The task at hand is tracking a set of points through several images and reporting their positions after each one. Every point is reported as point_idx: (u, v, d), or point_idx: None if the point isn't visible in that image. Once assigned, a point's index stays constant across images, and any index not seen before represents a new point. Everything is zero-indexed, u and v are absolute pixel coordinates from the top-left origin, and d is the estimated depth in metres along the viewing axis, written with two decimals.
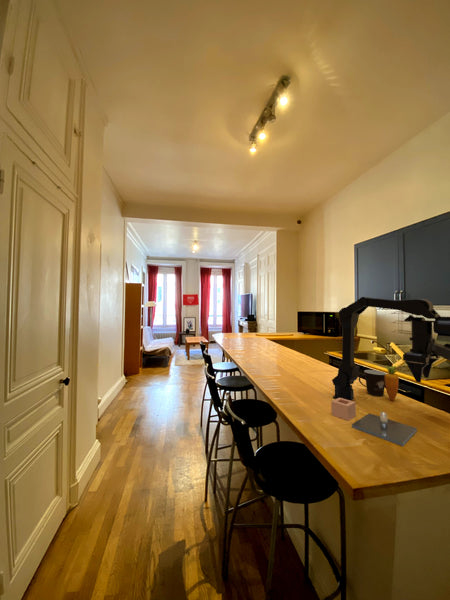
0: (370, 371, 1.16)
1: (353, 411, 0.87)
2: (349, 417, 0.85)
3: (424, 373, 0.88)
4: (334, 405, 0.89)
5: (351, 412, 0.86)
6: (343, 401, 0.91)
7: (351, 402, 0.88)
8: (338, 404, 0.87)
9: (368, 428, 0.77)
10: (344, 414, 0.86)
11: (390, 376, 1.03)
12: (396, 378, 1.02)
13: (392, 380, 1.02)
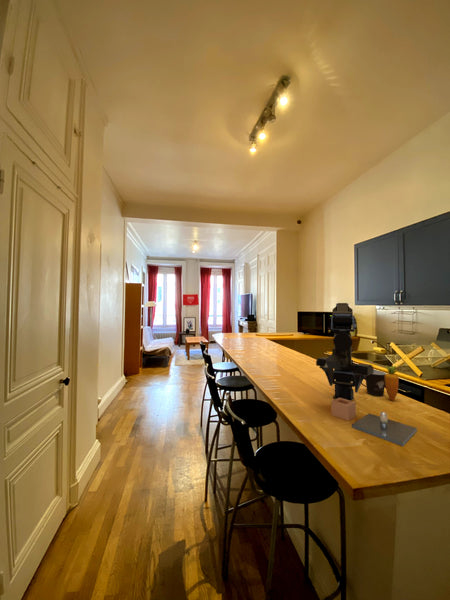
0: None
1: (353, 411, 0.87)
2: (349, 417, 0.85)
3: None
4: (334, 405, 0.89)
5: (351, 412, 0.86)
6: (343, 401, 0.91)
7: (351, 402, 0.88)
8: (338, 404, 0.87)
9: (368, 428, 0.77)
10: (344, 414, 0.86)
11: (390, 376, 1.03)
12: (396, 378, 1.02)
13: (392, 380, 1.02)
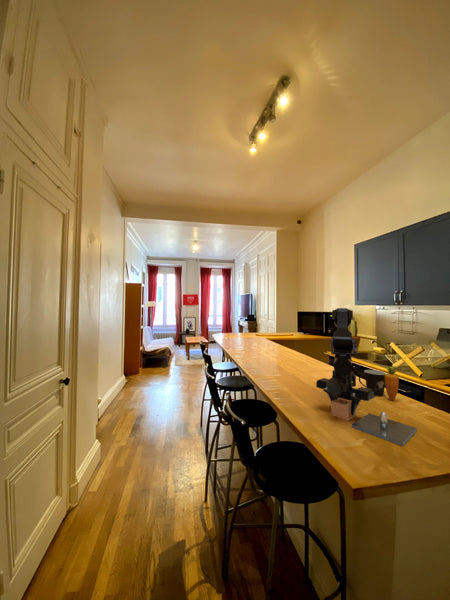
0: (370, 371, 1.16)
1: None
2: (349, 417, 0.85)
3: None
4: (334, 405, 0.89)
5: None
6: (343, 401, 0.91)
7: None
8: (338, 404, 0.87)
9: (368, 428, 0.77)
10: (344, 414, 0.86)
11: (390, 376, 1.03)
12: (396, 378, 1.02)
13: (392, 380, 1.02)
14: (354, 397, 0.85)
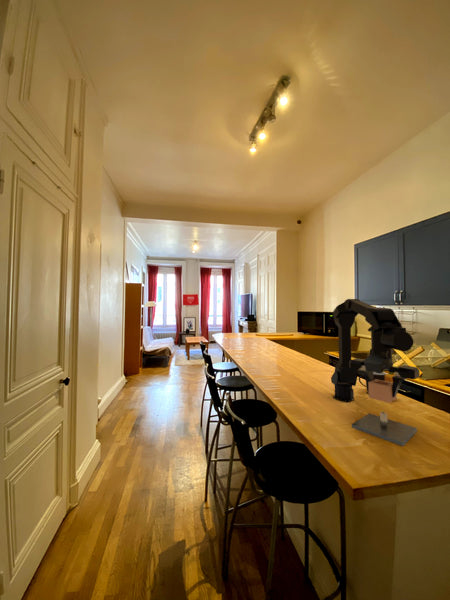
0: None
1: None
2: (390, 399, 0.76)
3: None
4: (372, 386, 0.79)
5: None
6: (381, 382, 0.81)
7: (391, 383, 0.79)
8: (377, 385, 0.78)
9: (368, 428, 0.77)
10: (385, 396, 0.76)
11: (390, 376, 1.03)
12: None
13: (392, 380, 1.02)
14: (396, 376, 0.75)
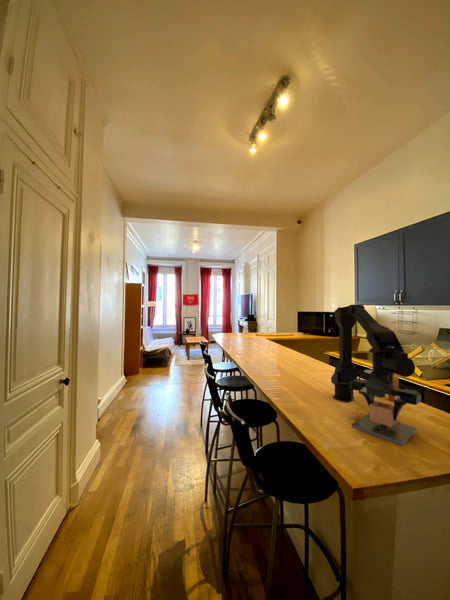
0: (370, 371, 1.16)
1: None
2: (392, 423, 0.75)
3: None
4: (373, 409, 0.79)
5: (393, 417, 0.76)
6: (382, 405, 0.81)
7: (392, 406, 0.78)
8: (378, 408, 0.77)
9: (368, 428, 0.77)
10: (386, 419, 0.76)
11: None
12: (396, 378, 1.02)
13: None
14: (398, 400, 0.75)
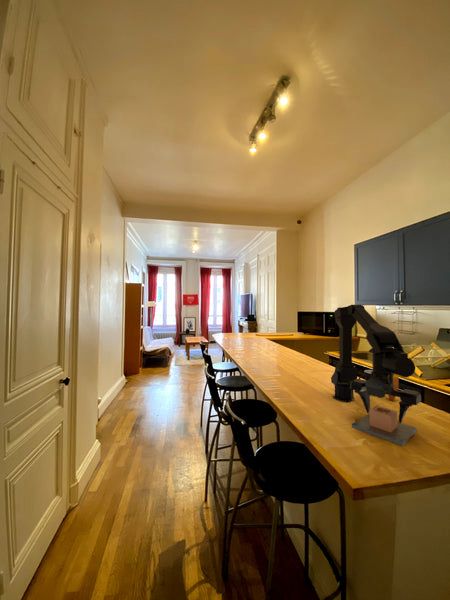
0: (370, 371, 1.16)
1: (395, 421, 0.77)
2: (392, 428, 0.75)
3: None
4: (373, 414, 0.79)
5: (393, 422, 0.76)
6: (382, 410, 0.81)
7: (392, 411, 0.78)
8: (378, 413, 0.77)
9: (368, 428, 0.77)
10: (386, 425, 0.76)
11: None
12: (396, 378, 1.02)
13: None
14: None
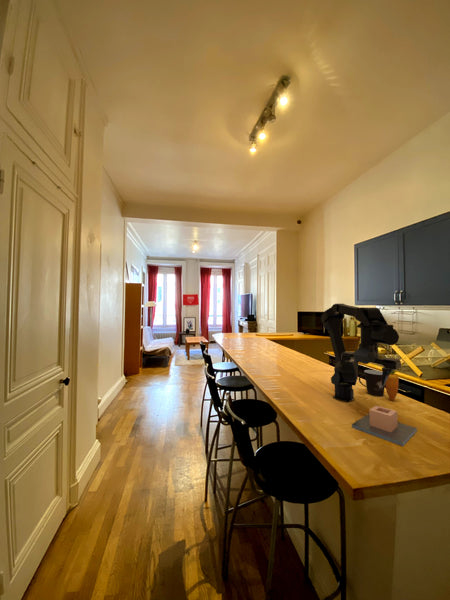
0: (370, 371, 1.16)
1: (395, 421, 0.77)
2: (392, 428, 0.75)
3: None
4: (373, 414, 0.79)
5: (393, 422, 0.76)
6: (382, 410, 0.81)
7: (392, 411, 0.78)
8: (378, 413, 0.77)
9: (368, 428, 0.77)
10: (386, 425, 0.76)
11: (390, 376, 1.03)
12: (396, 378, 1.02)
13: (392, 380, 1.02)
14: None
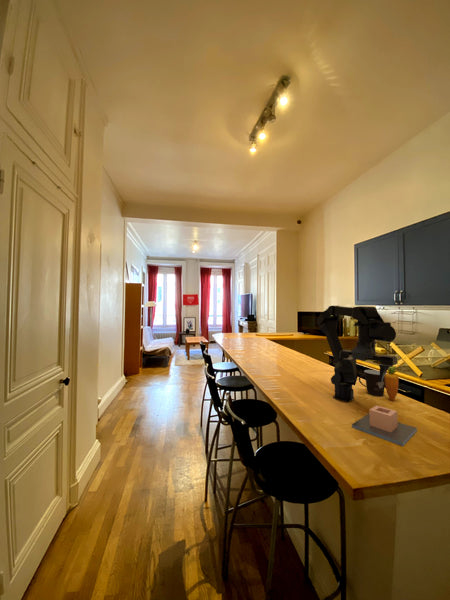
0: (370, 371, 1.16)
1: (395, 421, 0.77)
2: (392, 428, 0.75)
3: None
4: (373, 414, 0.79)
5: (393, 422, 0.76)
6: (382, 410, 0.81)
7: (392, 411, 0.78)
8: (378, 413, 0.77)
9: (368, 428, 0.77)
10: (386, 425, 0.76)
11: (390, 376, 1.03)
12: (396, 378, 1.02)
13: (392, 380, 1.02)
14: (383, 364, 0.88)
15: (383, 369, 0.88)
